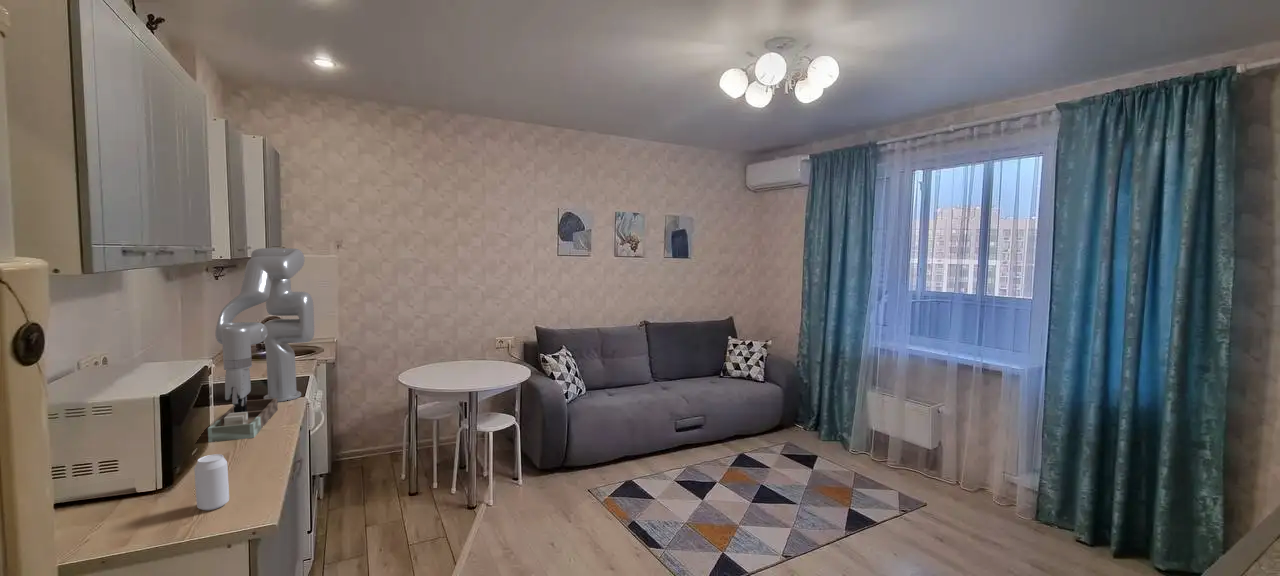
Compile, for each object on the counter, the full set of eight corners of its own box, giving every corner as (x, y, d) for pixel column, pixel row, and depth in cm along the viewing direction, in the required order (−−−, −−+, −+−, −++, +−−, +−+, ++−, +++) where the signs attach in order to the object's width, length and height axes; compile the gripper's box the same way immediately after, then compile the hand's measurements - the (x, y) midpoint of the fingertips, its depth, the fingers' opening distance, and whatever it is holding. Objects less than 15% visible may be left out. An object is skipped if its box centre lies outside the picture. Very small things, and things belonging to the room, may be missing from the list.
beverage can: (222, 497, 136) (219, 451, 135) (234, 504, 133) (231, 456, 132) (192, 508, 131) (188, 459, 130) (204, 515, 128) (201, 465, 126)
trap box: (239, 413, 199) (238, 401, 199) (277, 409, 204) (277, 398, 203) (208, 442, 172) (207, 428, 171) (254, 437, 176) (253, 424, 175)
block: (230, 425, 180) (229, 413, 180) (248, 423, 182) (247, 411, 181) (224, 430, 175) (224, 417, 175) (243, 428, 177) (242, 416, 177)
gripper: (231, 359, 187) (234, 411, 188) (215, 369, 173) (219, 426, 174) (257, 358, 189) (260, 409, 191) (244, 367, 175) (247, 423, 177)
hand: (240, 417), depth 183 cm, fingers closed
